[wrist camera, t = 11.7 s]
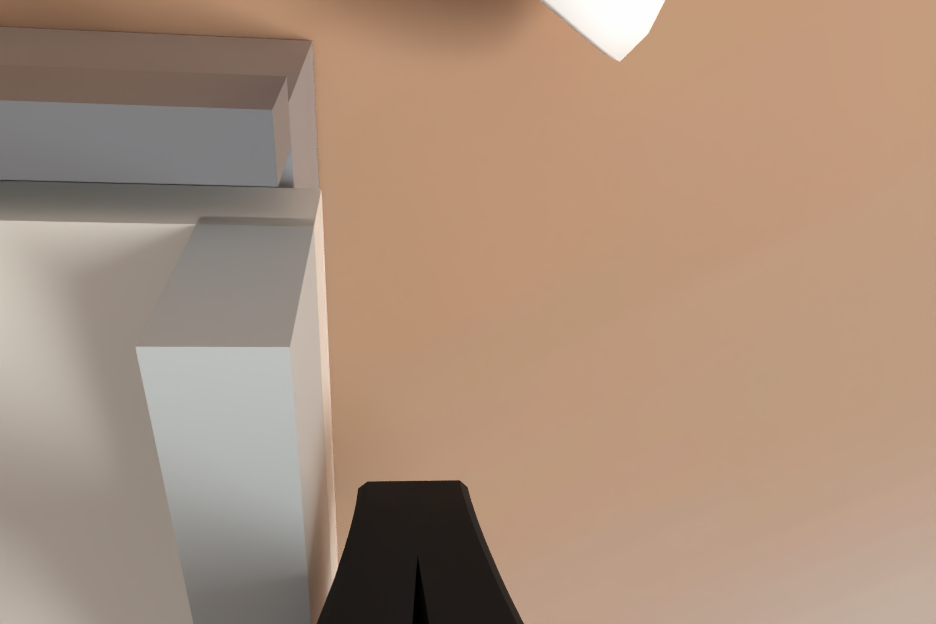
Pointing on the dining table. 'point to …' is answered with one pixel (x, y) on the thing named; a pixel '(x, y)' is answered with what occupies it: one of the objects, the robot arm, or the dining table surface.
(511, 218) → the dining table surface
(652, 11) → the binoculars
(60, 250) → the lid
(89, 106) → the housing
